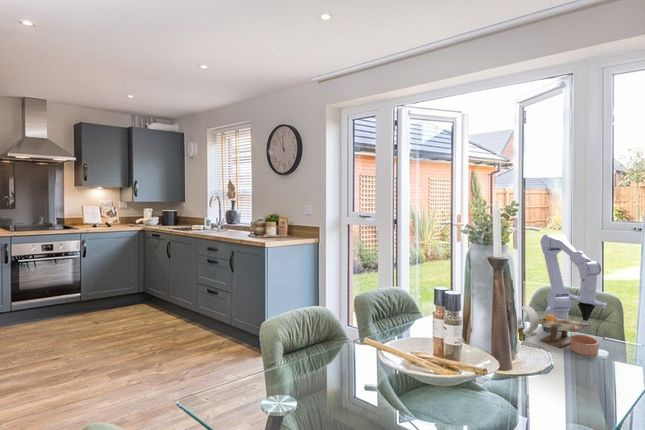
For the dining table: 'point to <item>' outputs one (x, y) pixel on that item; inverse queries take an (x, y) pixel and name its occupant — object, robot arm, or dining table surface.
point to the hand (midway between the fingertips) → (585, 320)
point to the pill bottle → (520, 329)
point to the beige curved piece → (562, 325)
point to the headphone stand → (531, 320)
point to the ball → (550, 318)
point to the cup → (584, 344)
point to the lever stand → (557, 338)
